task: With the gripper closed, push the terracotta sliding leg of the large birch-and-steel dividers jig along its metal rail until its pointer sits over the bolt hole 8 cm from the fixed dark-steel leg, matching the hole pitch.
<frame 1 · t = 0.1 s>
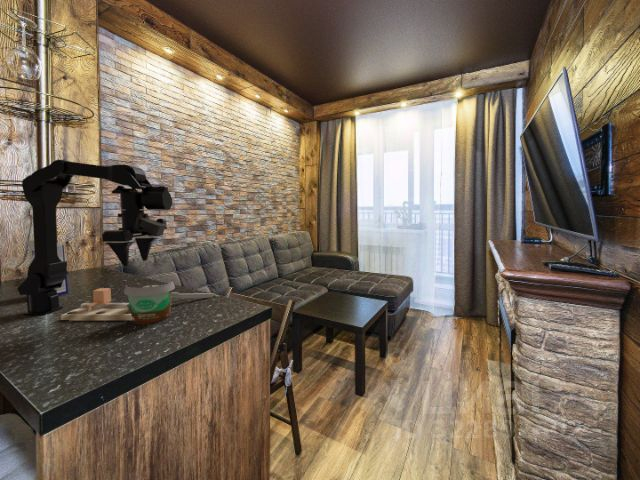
hand: (135, 263, 88), 15 cm above the counter, fingers open, 9 cm apart
milk carton: (51, 295, 107), on the counter
sliding leg: (97, 299, 87), point 4 cm above the counter, slide at 11.0 cm
caliper: (188, 303, 99), on the counter
food container: (151, 321, 82), on the counter
hole plate: (110, 313, 88), on the counter
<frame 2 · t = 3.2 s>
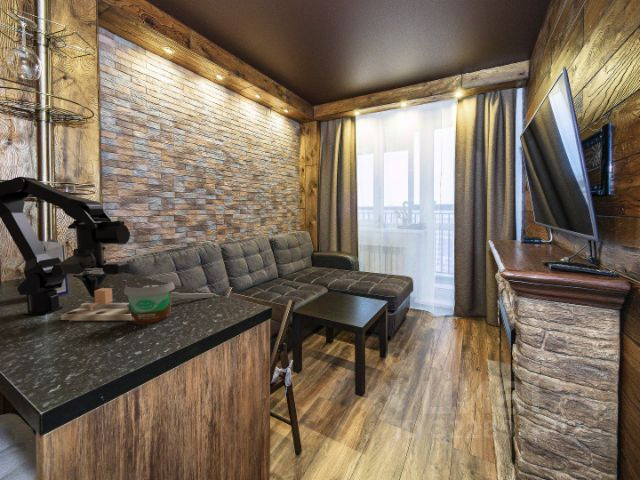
hand: (93, 296, 89), 5 cm above the counter, fingers closed
sliding leg: (98, 299, 87), point 4 cm above the counter, slide at 10.6 cm, touching gripper
everything else where it was.
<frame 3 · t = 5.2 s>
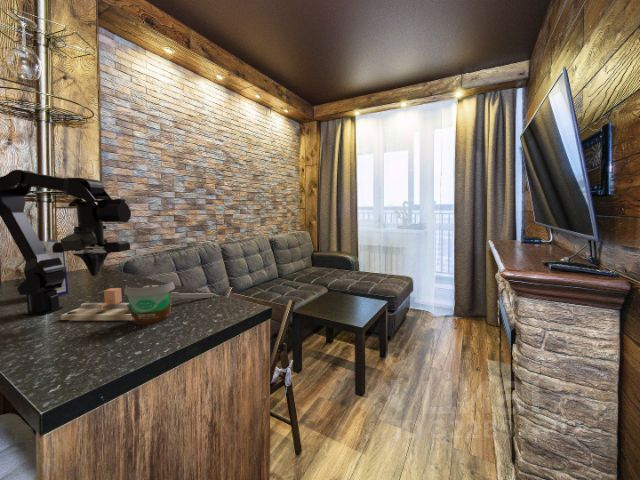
hand: (94, 275, 88), 11 cm above the counter, fingers closed
sliding leg: (108, 299, 87), point 4 cm above the counter, slide at 7.8 cm
everything else where it was.
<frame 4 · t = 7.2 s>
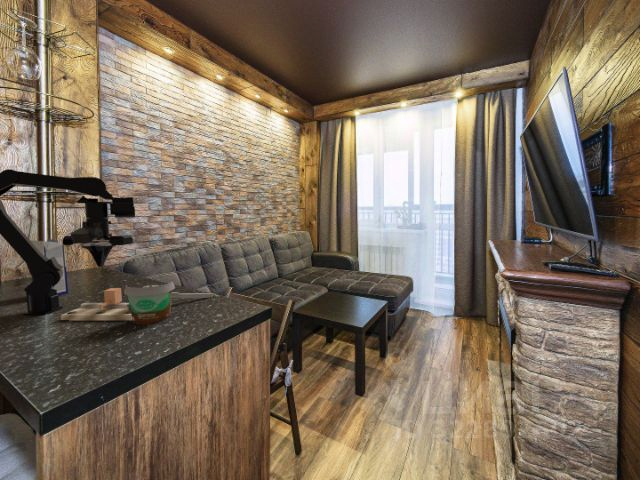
hand: (100, 266, 96), 12 cm above the counter, fingers closed
nothing on the counter moved.
at the end: sliding leg slide at 7.8 cm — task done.
